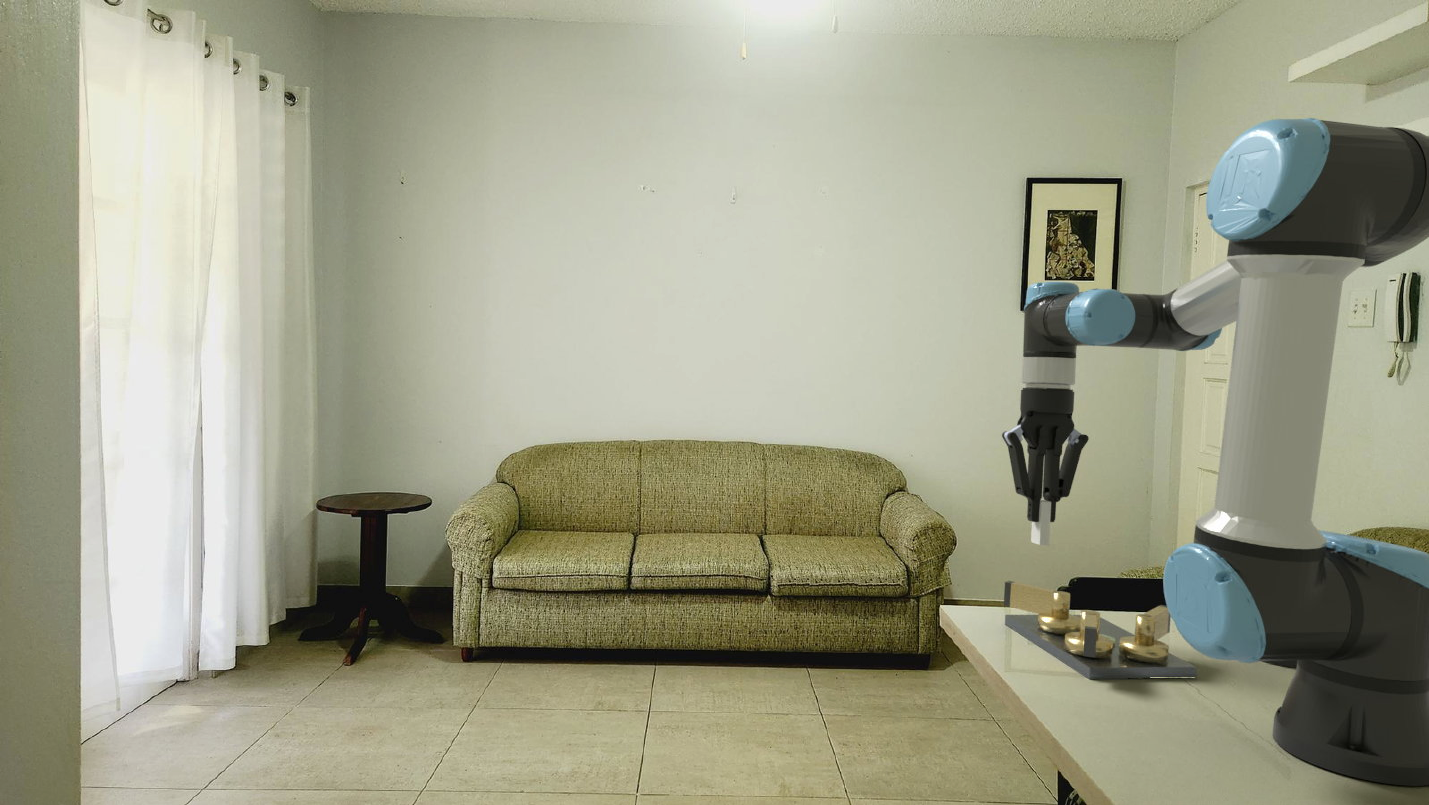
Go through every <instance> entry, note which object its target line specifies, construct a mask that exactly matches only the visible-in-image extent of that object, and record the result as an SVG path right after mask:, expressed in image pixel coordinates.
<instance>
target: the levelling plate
mask: <svg viewBox="0 0 1429 805" xmlns="http://www.w3.org/2000/svg"><path fill="white" fill-rule="evenodd" d="M1073 615H1074V616H1077V617H1079V618H1081V614H1073ZM1004 616H1005V617H1004V625H1005V626H1007V627H1008V628H1010V627H1011V628H1012V630H1013V631H1014V630H1015V633H1017V632H1018V633H1017V634H1019V635H1021V636H1022V637H1024V638H1025V639H1027V640H1028V641H1030V642H1032V643H1033V644H1034V645H1036V646H1037V647H1039V648H1041V649H1042V650H1044V651H1045V652H1047V653H1048V654H1050V655H1052V656H1053V657H1055V658H1056V659H1058V661H1061V662H1062V663H1064V664H1065V665H1067V666H1068V667H1070V668H1071V669H1072V670H1074V671H1076V672H1078V673H1080V674H1081V675H1082V676H1084V677H1085V678H1087V679H1088V680H1132V679H1131V678H1150V677H1196V678H1197V669H1198V667H1197V666H1196V665H1193V664H1192V663H1190V662H1187V661H1186V660H1184V659H1182V658H1179V657H1178V656H1176V655H1175V654H1172V653H1171V652H1169V654H1168V660H1167V661H1165V662H1145V661H1139V660H1135V659H1131V658H1128V657H1126V656H1123V655H1122V654H1120V653H1119V643H1120V638H1122V637H1128V636H1135V633H1132V632H1129V631H1128V630H1125V629H1124V628H1122V627H1120V626H1118V625H1116V624H1114V623H1112V622H1110V621H1108V620H1107V619H1104V618H1102V617H1101V616H1100V624H1099V635H1101V636H1104V637H1107V638H1109V639H1111V640H1112V641H1113V649H1112V655H1111V656H1110V657H1104V658H1094V657H1087V656H1082V655H1078V654H1074V653H1072V652H1069V651H1068V650H1066V649H1065V647H1064V646H1065V635H1066V634H1058V633H1052V632H1048V631H1045V630H1042V629H1040V628H1039V627H1038V614H1005V615H1004ZM1011 628H1010V629H1011ZM1128 678H1130V679H1128Z"/></svg>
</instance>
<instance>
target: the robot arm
mask: <svg viewBox="0 0 1429 805" xmlns="http://www.w3.org/2000/svg"><path fill="white" fill-rule="evenodd" d="M1205 202H1206V204H1205V207H1206V210H1205V211H1206V216H1207V218H1208V220H1210V226H1211V228H1212V230H1213V231H1214V232H1215V233H1216V234H1218V236H1220V237H1222V238H1223V239H1225V240H1227V241H1228V243H1227V244H1228V246H1227V255H1226V260H1224V261H1222V262H1220V263H1219V264H1217V265H1216V266H1213V267H1212V268H1210V269H1209V270H1206V271H1205V272H1203V273H1202V274H1200V275H1198V276H1196V277H1195V278H1193V279H1192V280H1190V281H1188V282H1186V283H1184V284H1183V285H1181V286H1180V287H1177V288H1176V289H1174V290H1172V291H1170V292H1168V293H1166V294H1150V293H1149V294H1148V293H1147V294H1145V293H1143V294H1142V293H1130V292H1126V293H1125V292H1121V291H1120V290H1117V289H1112V288H1091V289H1088V290H1085V291H1080V287H1079V286H1078V284H1076V283H1073V282H1067V281H1045V282H1043V281H1042V282H1035V283H1032V284H1030V285H1029V286H1028V287H1027V290H1026V298H1025V304H1024V307H1023V312H1024V316H1023V318H1024V320H1023V346H1022V347H1023V350H1022V353H1023V355H1022V368H1021V369H1022V370H1021V383H1022V384H1025V387H1022V389H1021V390H1020V403H1019V404H1020V408H1019V409H1020V416H1019V419H1018V420H1017V423H1016V426H1015V427H1014V428H1012V429H1010V430H1009V431H1006V430H1005V431H1003V432H1002V434H1001V438H1002V439H1003V442H1004V443H1005V444H1006V447H1007V448H1008V456H1009V460H1010V467H1011V473H1012V478H1013V483H1014V489H1015V492H1016V494H1017V495H1020V496H1022V497H1025V498H1026V499H1027V510H1026V511H1027V512H1026V514H1027V516H1026V518H1027V520H1028V521H1029V522H1031V530H1030V531H1031V535H1030V543H1033V544H1036V545H1039V546H1050V536H1051V535H1050V534H1051V533H1050V530H1051V523H1055V521H1056V515H1057V514H1056V511H1057V510H1056V509H1057V503H1058V502H1060V501H1061V500H1062V498H1068V497H1069V496H1070V493H1071V490H1072V486H1073V483H1074V479H1075V475H1076V472H1077V468H1078V464H1079V461H1080V458H1081V454H1082V451H1083V449H1084V448H1085V446H1086V444H1087V443H1088V442H1089V440H1090V439H1089V436H1088V435H1087V434H1082V433H1081V432H1080V431H1078V429H1076V428H1075V422H1074V421H1073V413H1074V409H1075V408H1074V407H1075V406H1074V405H1075V391H1074V390H1073V389H1071V386H1074V385H1075V384H1076V370H1077V369H1076V368H1077V367H1076V364H1077V363H1076V362H1077V360H1076V359H1077V346H1078V347H1079V346H1082V347H1083V346H1084V347H1085V346H1087V347H1089V346H1090V347H1091V346H1092V347H1111V348H1112V347H1113V348H1114V347H1115V348H1117V347H1118V348H1139V349H1155V350H1156V349H1157V350H1171V351H1172V350H1174V351H1179V352H1188V351H1200V350H1206V349H1208V348H1210V347H1212V346H1213V345H1214V344H1215V341H1216V339H1218V338H1219V337H1220V336H1221V333H1222V330H1223V328H1225V327H1226V326H1228V325H1231V324H1234V323H1235V331H1234V339H1233V346H1232V347H1233V348H1232V355H1231V365H1230V372H1229V380H1228V388H1227V389H1228V390H1227V398H1226V404H1225V405H1226V406H1225V414H1224V421H1223V430H1222V438H1221V439H1222V440H1221V447H1220V448H1221V449H1220V456H1219V466H1218V472H1217V473H1218V474H1217V480H1216V490H1215V496H1214V498H1215V499H1214V506H1213V507H1212V508H1211V509H1210V510H1209V511H1207V512H1206V513H1205V514H1203V515H1202V516H1200V517H1199V518H1197V519H1196V520H1195V521H1196V522H1195V527H1194V528H1195V529H1194V536H1193V542H1189V543H1185V545H1182V546H1179V547H1177V548H1176V549H1175V550H1173V552H1172V555H1169V556H1168V558H1167V560H1166V563H1165V566H1164V570H1163V578H1162V579H1163V580H1162V583H1163V594H1164V599H1165V600H1164V601H1165V604H1166V606H1167V608H1168V611H1169V613H1170V616H1171V618H1170V619H1172V621H1173V622H1174V625H1175V627H1176V629H1177V631H1178V633H1179V634H1180V635H1181V637H1182V638H1183V640H1185V642H1186V643H1187V644H1188V645H1189V646H1190V647H1192V648H1193V649H1194V650H1196V652H1198V653H1200V654H1201V655H1203V656H1206V657H1207V658H1211V659H1214V660H1218V661H1219V660H1220V661H1236V662H1240V663H1245V664H1251V663H1252V664H1253V663H1257V662H1263V661H1293V660H1297V668H1295V673H1294V674H1293V677H1292V679H1291V681H1290V684H1289V686H1288V689H1287V691H1286V694H1285V696H1284V699H1283V702H1282V705H1281V706H1280V707H1278V708H1277V709H1276V712H1275V713H1274V717H1273V726H1272V738H1273V740H1274V741H1275V743H1276V744H1277V745H1278V746H1279V747H1280V748H1282V749H1283V750H1285V751H1286V752H1288V753H1289V754H1291V755H1293V756H1295V757H1296V758H1299V759H1300V760H1303V761H1305V762H1307V763H1308V764H1312V765H1314V766H1317V767H1319V768H1322V769H1325V770H1328V771H1331V772H1334V773H1338V774H1341V775H1345V776H1349V777H1353V778H1355V779H1361V780H1365V781H1371V782H1376V783H1380V784H1381V783H1382V784H1388V785H1389V784H1390V785H1396V786H1410V787H1411V786H1413V787H1414V786H1415V787H1417V786H1422V787H1423V786H1429V553H1428V552H1425V551H1422V550H1419V549H1415V548H1411V547H1408V546H1403V545H1399V544H1394V543H1389V542H1385V541H1381V540H1376V539H1370V538H1367V537H1366V538H1365V537H1361V536H1355V535H1350V534H1345V533H1340V532H1339V533H1338V532H1333V531H1326V530H1319V529H1318V528H1317V527H1316V526H1315V525H1314V523H1313V520H1312V516H1313V510H1314V509H1313V508H1314V502H1315V493H1316V486H1317V480H1318V479H1317V478H1318V471H1319V464H1320V457H1321V449H1322V441H1323V434H1324V426H1325V419H1326V411H1327V403H1328V396H1329V388H1330V382H1331V381H1330V380H1331V374H1332V366H1333V359H1334V358H1333V357H1334V350H1335V343H1336V336H1337V328H1338V320H1339V315H1340V314H1339V312H1340V305H1341V298H1342V292H1343V291H1342V290H1343V282H1344V281H1345V280H1346V278H1348V276H1350V275H1351V274H1352V273H1354V272H1355V271H1356V270H1358V269H1359V268H1370V267H1375V266H1378V265H1380V264H1383V263H1385V262H1386V261H1389V260H1391V259H1393V258H1395V257H1397V256H1399V255H1402V254H1403V253H1405V252H1407V251H1410V250H1412V249H1413V248H1415V247H1417V246H1418V245H1419V244H1421V243H1423V242H1424V241H1425V240H1427V239H1428V238H1429V136H1428V135H1426V134H1424V133H1421V132H1420V131H1415V130H1412V129H1408V128H1404V127H1393V126H1389V127H1388V126H1387V127H1386V126H1384V127H1383V126H1374V125H1366V124H1365V125H1364V124H1358V123H1350V122H1340V121H1332V120H1322V119H1318V118H1313V117H1309V118H1308V117H1307V118H1291V119H1289V118H1275V119H1269V120H1264V121H1261V122H1259V123H1257V124H1255V125H1253V126H1252V127H1249V128H1248V129H1247V130H1245V131H1244V132H1242V133H1241V134H1240V135H1239V136H1238V137H1237V138H1235V140H1233V142H1232V144H1231V146H1230V147H1229V148H1228V149H1227V150H1225V151H1224V153H1223V154H1222V156H1221V157H1220V159H1219V160H1218V163H1217V165H1216V166H1215V168H1214V170H1213V172H1212V176H1211V178H1210V181H1209V184H1208V188H1207V193H1206V200H1205ZM1023 439H1024V440H1025V442H1026V443H1027V449H1026V451H1027V453H1028V460H1027V461H1028V462H1027V463H1026V456H1025V452H1024V451H1025V450H1024V446H1023V444H1022V441H1023ZM1066 441H1067V442H1068V443H1067V445H1066V446H1065V450H1064V453H1063V445H1064V443H1065V442H1066ZM1062 454H1063V457H1062ZM1061 457H1062V460H1061ZM1042 497H1043V498H1042Z"/></svg>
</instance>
